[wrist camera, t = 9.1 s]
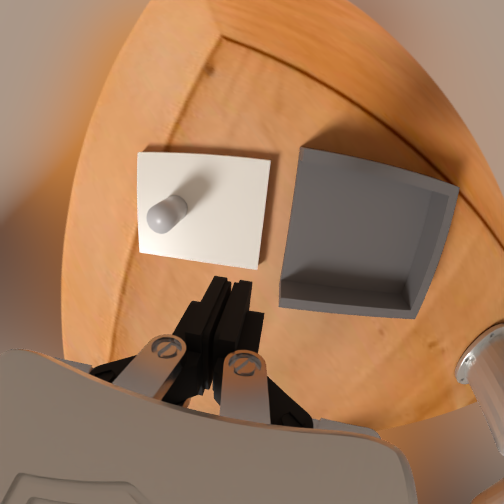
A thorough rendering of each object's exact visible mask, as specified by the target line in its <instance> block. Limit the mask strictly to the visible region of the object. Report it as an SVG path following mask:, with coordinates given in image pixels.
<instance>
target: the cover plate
mask: <svg viewBox="0 0 504 504" xmlns="http://www.w3.org/2000/svg"><path fill="white" fill-rule="evenodd" d="M270 164H271V160H268V159H260V158H251V157H241V156H230V155H217V154H203V153H183V152H138V161H137V209H138V233H139V249H140V252H141V253H147V254H154V255H160V256H167V257H173V258H179V259H186V260H193V261H199V262H206V263H213V264H220V265H227V266H234V267H241V268H248V269H255V270H257V268H258V262H259V254H260V246H261V238H262V230H263V222H264V214H265V206H266V198H267V189H268V181H269V173H270Z"/></svg>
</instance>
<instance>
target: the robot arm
mask: <svg viewBox="0 0 504 504" xmlns="http://www.w3.org/2000/svg"><path fill="white" fill-rule="evenodd" d="M251 290H252V282H250V281H244V280H240V281H239V283H236V282H235V283H234V285H233V288H232V290H231V282H229V281H227V278H225V277H219V276H214V278H213V280H212V282H211V284H210V285H209V287H208V289H207V291H206V293H205V295H204V297H203V299H202V300H201V302H197V301H192V302H191V303H190V305H189V306H188V308H187V310H186V311H185V313H184V315H183V317H182V318H181V320H180V322H179V324H178V325H177V327H176V329H175V331H174V332H173V334H172V335H169V334H164V335H159V336H157V337H154V338H153V339H152V340H150V341H149V342H148V344H147V345H146V346H145V347H144V348H143V349H142V350H141V351H140V352H139V353H138V355H135V356H132V357H128V358H125V359H121V360H118V361H114V362H110V363H106V364H103V365H100V366H97V367H95V368H92V365H88V364H83V363H78V362H73V361H69V360H64V359H60V358H56V357H55V358H54V357H50V356H48V355H45V354H42V353H39V352H35V351H32V350H26V349H11V350H8V351H6V352H4V353H2V354H1V355H0V504H418V502H417V494H416V488H415V483H414V479H413V475H412V471H411V468H410V465H409V463H408V460H407V458H406V457H405V455H404V454H403V452H402V451H401V450H400V449H399V448H398V447H396V446H395V445H393V444H391V443H389V442H387V441H385V440H382V439H381V438H380V436H379V434H378V433H377V432H376V431H374V430H373V429H370V428H366V427H360V426H355V425H350V424H345V423H340V422H336V421H331V420H327V419H323V418H321V419H320V420H316V419H312V418H311V416H310V415H309V414H308V413H307V412H306V411H305V410H304V409H303V408H301V407H300V406H299V405H298V404H297V403H296V402H295V401H294V400H292V399H291V398H290V397H289V396H288V395H287V394H286V393H285V392H284V391H283V390H282V389H280V388H279V387H278V386H277V385H276V384H275V383H274V382H273V381H272V380H271V379H270V378H269V377H268V376H267V370H266V363H265V360H264V359H263V358H262V356H260V355H259V354H258V349H259V343H260V337H261V331H262V325H263V319H264V313H261V312H254V311H249V306H250V298H251ZM455 377H456V379H457V381H458V382H459V383H461V384H470V386H471V388H472V390H473V392H474V394H475V396H476V399H477V401H478V403H479V405H480V407H481V409H482V411H483V413H484V416H485V418H486V420H487V423H488V425H489V428H490V430H491V433H492V435H493V438H494V440H495V443H496V446H497V448H498V450H499V452H500V453H501V454H502V455H503V456H504V323H501V324H498V325H495V326H493V327H491V328H490V329H488V330H486V331H485V332H484V333H483V334H481V335H480V336H479V337H478V338H477V339H476V340H475V341H474V342H473V343H472V344H471V345H470V346H469V347H468V348H467V350H466V351H465V352H464V354H463V355H462V357H461V358H460V360H459V362H458V364H457V366H456V369H455ZM212 380H213V391H214V399H215V400H216V402H217V403H218V404H219V405H220V416H218V415H214V414H209V413H205V412H200V411H196V410H192V409H188V408H187V407H188V405H189V403H190V400H191V397H193V396H196V395H202V396H203V393H204V390H205V389H208V390H209V389H210V386H211V383H212ZM470 504H504V478H502V479H501V480H499V481H498V482H496V483H495V484H493V485H492V486H490V487H489V488H487V489H486V490H484V491H483V492H481V493H480V494H478V495H477V496H476V497H475V498H474V499H473V500H472V501H471V502H470Z"/></svg>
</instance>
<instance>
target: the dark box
mask: <svg viewBox="0 0 504 504" xmlns="http://www.w3.org/2000/svg"><path fill="white" fill-rule="evenodd" d="M459 188H460V187H457V186H455V185H452V184H449V183H447V182H444V181H442V180H439V179H436V178H433V177H430V176H427V175H423V174H420V173H417V172H413V171H410V170H406V169H403V168H399V167H396V166H392V165H388V164H384V163H380V162H376V161H372V160H368V159H363V158H359V157H354V156H349V155H345V154H340V153H335V152H329V151H324V150H318V149H312V148H306V147H300V152H299V160H298V167H297V175H296V182H295V189H294V196H293V203H292V209H291V216H290V223H289V229H288V235H287V242H286V248H285V254H284V260H283V266H282V272H281V278H280V283H279V307H282V308H291V309H299V310H308V311H317V312H327V313H337V314H348V315H359V316H372V317H386V318H402V319H415V318H416V316H417V314H418V312H419V309H420V307H421V305H422V303H423V300H424V298H425V296H426V293H427V291H428V289H429V286H430V284H431V281H432V279H433V276H434V273H435V271H436V268H437V265H438V262H439V260H440V257H441V254H442V251H443V248H444V245H445V242H446V238H447V235H448V232H449V228H450V225H451V221H452V217H453V214H454V210H455V206H456V201H457V197H458V193H459Z"/></svg>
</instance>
